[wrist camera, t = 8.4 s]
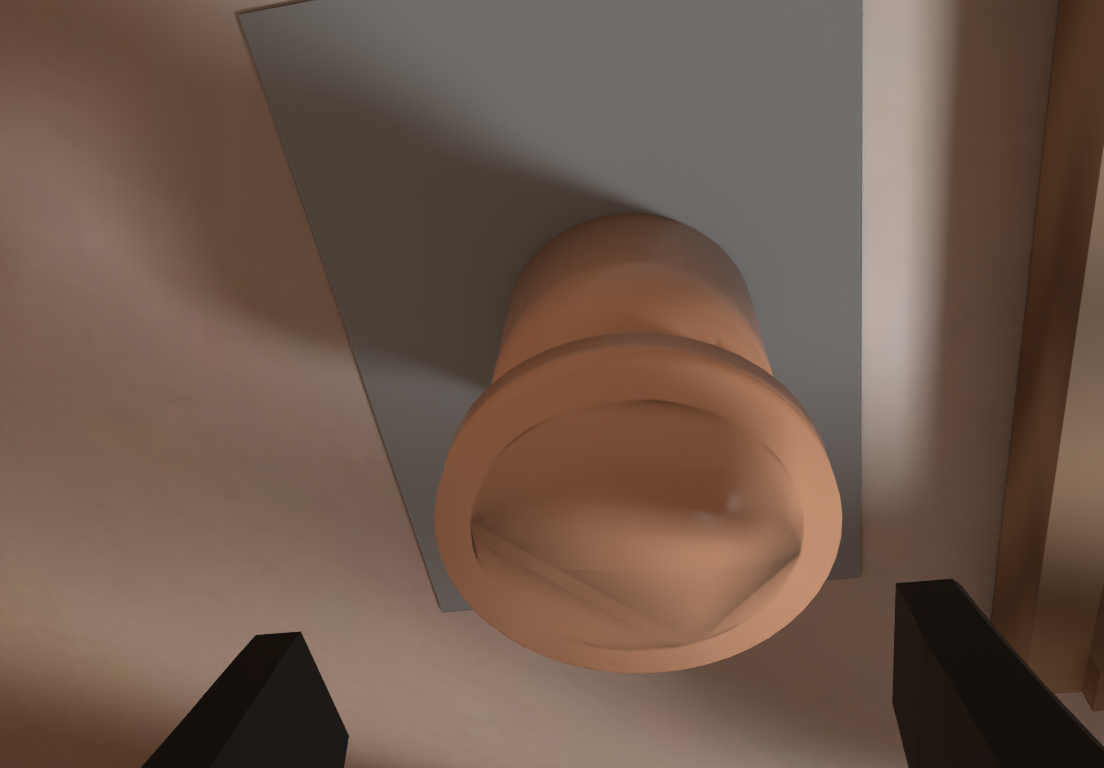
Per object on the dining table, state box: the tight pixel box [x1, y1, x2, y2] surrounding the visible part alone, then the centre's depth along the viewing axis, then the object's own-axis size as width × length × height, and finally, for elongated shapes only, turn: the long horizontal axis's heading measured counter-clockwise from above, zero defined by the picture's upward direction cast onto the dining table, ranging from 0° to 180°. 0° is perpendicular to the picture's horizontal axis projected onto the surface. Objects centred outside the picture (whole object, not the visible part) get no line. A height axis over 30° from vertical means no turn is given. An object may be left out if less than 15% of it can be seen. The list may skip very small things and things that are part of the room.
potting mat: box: [238, 0, 862, 613], centre depth 18 cm, size 14×10×1 cm
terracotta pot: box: [434, 213, 842, 673], centre depth 15 cm, size 6×6×6 cm
